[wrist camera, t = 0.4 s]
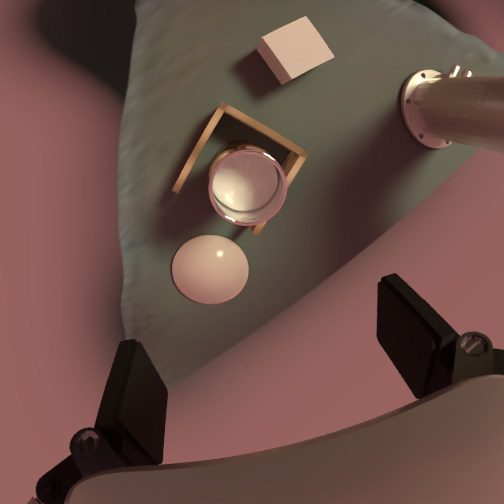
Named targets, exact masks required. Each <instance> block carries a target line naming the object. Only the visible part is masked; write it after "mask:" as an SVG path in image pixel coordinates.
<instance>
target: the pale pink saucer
mask: <svg viewBox="0 0 504 504" xmlns="http://www.w3.org/2000/svg"><path fill="white" fill-rule="evenodd" d="M172 274H173V279H174V282H175V284H176V286H177V287H178V289H179V290H180V291H181V292H182V293H183V294H184V295H185V296H187V297H188V298H190V299H192V300H193V301H196V302H199V303H203V304H218V303H223V302H226V301H228V300H230V299H232V298H234V297H235V296H236V295H238V294H239V293H240V292H241V290H242V289H243V288H244V286H245V284H246V282H247V279H248V274H249V267H248V262H247V258H246V256H245V254H244V252H243V251H242V249H241V248H240V247H239V246H238V245H237V244H236V243H235V242H233V241H232V240H230V239H228V238H226V237H224V236H220V235H215V234H205V235H200V236H196V237H194V238H192V239H190V240H188V241H187V242H185V243H184V244H183V245H182V246H181V247H180V248H179V249H178V251H177V253H176V255H175V257H174V260H173V264H172Z"/></svg>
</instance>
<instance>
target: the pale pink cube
mask: <svg viewBox="0 0 504 504" xmlns="http://www.w3.org/2000/svg"><path fill="white" fill-rule="evenodd" d="M256 49H257V51H258V52H259V54H260V55H261V56H262V58H263V59H264V60H265V62H266V63H267V65H268V66H269V67H270V69H271V70H272V72H273V73H274V74H275V76H276V77H277V79H278V80H279V82H280V83H281V85H283V84H285V83H286V82H288V81H290V80H292V79H294V78H295V77H297V76H299V75H301V74H303V73H305V72H306V71H308V70H310V69H312V68H314V67H316V66H318V65H320V64H322V63H324V62H326V61H328V60H330V59H332V58H334V55H333V54H332V52H331V51H330V49H329V48H328V46H327V45H326V43H325V42H324V40H323V39H322V38H321V36H320V35H319V33H318V32H317V30H316V29H315V28H314V26H313V25H312V24H311V22H310V21H309V20H308V18H307V17H306V16H305V17H303V18H301V19H298V20H296V21H294V22H292V23H290V24H288V25H285V26H283V27H281V28H279V29H277V30H275V31H273V32H271V33H269V34H267V35H265V36H263V37H262V38H261V40H260V42H259V44H258V46H257V48H256Z"/></svg>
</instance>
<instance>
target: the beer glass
mask: <svg viewBox="0 0 504 504" xmlns="http://www.w3.org/2000/svg"><path fill="white" fill-rule="evenodd" d="M208 190H209V197H210V200H211V203H212V205H213V207H214V208H215V210H216V211H217V212H218V214H219V215H220V216H222V217H223V218H224V219H226V220H227V221H229V222H231V223H234V224H237V225H242V226H252V225H257V224H261V223H263V222H265V221H267V220H269V219H270V218H272V217H273V216H274V215H275V214H276V213H277V212H278V211H279V210H280V208H281V207H282V205H283V203H284V201H285V198H286V194H287V180H286V176H285V173H284V171H283V169H282V167H281V166H280V164H279V163H278V162H277V161H276V159H275V158H274V157H273V156H272V155H271V154H270V153H269V152H268V151H266V150H265V149H263V148H262V147H259V146H257V145H254V144H249V143H245V142H232V143H229V144H227V145H225V146H224V147H222V148H221V149H220V151H219V152H218V153H217V155H216V157H215V158H214V160H213V162H212V164H211V166H210V169H209V172H208Z"/></svg>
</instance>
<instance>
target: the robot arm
mask: <svg viewBox="0 0 504 504" xmlns="http://www.w3.org/2000/svg"><path fill="white" fill-rule="evenodd" d="M459 72H460V68H459V67H458V66H457V65H453V66H452V68H451V70H450V73H448V74H442V73H440V72H438V71H435V70H430V69H426V70H420V71H417V72H415V73H414V74H412V75H411V76H410V77H409V78H408V79H407V81H406V83H405V84H404V87H403V90H402V95H401V110H402V115H403V119H404V122H405V124H406V126H407V128H408V130H409V131H410V133H411V134H412V136H413V137H414V138H415V139H416V140H417V141H418V142H420V143H421V144H423V145H425V146H427V147H431V148H438V149H440V148H445V147H447V146H449V145H450V144H452V143H453V142H455V143H460V144H465V145H469V146H473V147H478V148H482V149H486V150H490V151H494V152H497V153H501V154H504V76H473V74H472V73H471V72H470V71H468V70H463V72H462V74H461V76H460V77H457V75H458V74H459ZM377 339H378V341H379V343H380V345H381V346H382V348H383V349H384V351H385V352H386V353H387V355H388V357H389V358H390V359H391V361H392V362H393V364H394V365H395V367H396V368H397V370H398V371H399V373H400V374H401V376H402V378H403V379H404V381H405V382H406V384H407V385H408V387H409V388H410V390H411V391H412V393H413V395H414V396H415V397H416V398H417V399H419V400H417V401H415V402H413V403H410V404H408V405H405V406H403V407H401V408H398V409H396V410H394V411H391V412H389V413H386V414H384V415H381V416H379V417H376V418H373V419H371V420H368V421H365V422H363V423H360V424H357V425H354V426H351V427H348V428H345V429H342V430H339V431H336V432H333V433H330V434H327V435H323V436H320V437H316V438H313V439H309V440H306V441H302V442H298V443H294V444H290V445H286V446H282V447H278V448H273V449H269V450H264V451H259V452H254V453H249V454H243V455H238V456H232V457H225V458H219V459H212V460H204V461H195V462H185V463H175V464H163V465H159V464H161V463H162V462H163V448H164V434H165V421H166V408H167V398H168V392H167V388H166V386H165V384H164V383H163V381H162V379H161V378H160V376H159V374H158V372H157V371H156V369H155V367H154V365H153V364H152V362H151V360H150V358H149V356H148V355H147V353H146V351H145V349H144V347H143V345H142V344H141V343H140V342H137V341H136V340H135V339H131V340H125V341H121V342H120V343H119V346H118V349H117V352H116V355H115V358H114V362H113V365H112V368H111V371H110V375H109V378H108V380H107V383H106V386H105V390H104V393H103V397H102V400H101V404H100V407H99V411H98V415H97V418H96V422H95V426H94V428H91V427H88V428H83V429H81V430H79V431H78V432H77V433H76V434H74V436H73V437H72V439H71V441H70V447H69V449H70V452H71V455H70V456H68V457H67V458H66V459H64V460H63V461H62V462H60V463H59V464H58V465H56V466H55V467H54V468H52V469H51V470H50V471H48V472H47V473H46V474H44V475H43V476H42V477H41V478H40V479H39V481H38V482H37V485H36V494H37V498H36V499H35V498H34V497H32V498H31V499H30V501H29V502H28V503H27V504H504V350H501V349H494V348H493V345H492V342H491V340H490V339H489V338H488V337H487V336H486V335H484V334H482V333H480V332H466V333H464V334H462V335H461V336H460V335H458V333H457V332H456V331H455V330H454V329H453V328H452V327H451V326H450V325H449V324H448V323H447V322H446V321H445V320H444V319H443V318H442V317H441V316H440V315H439V314H438V313H437V312H436V311H435V310H434V309H433V308H432V307H431V306H430V305H429V304H428V303H427V302H426V301H425V300H424V299H422V298H421V297H420V296H419V295H418V294H417V293H416V292H415V291H414V290H413V289H412V288H411V287H410V286H409V285H408V284H407V283H406V282H405V281H404V280H403V279H401V278H400V277H399V276H398V275H397V274H396V273H394V274H391V275H387V276H384V277H382V278H381V282H378V300H377Z"/></svg>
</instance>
